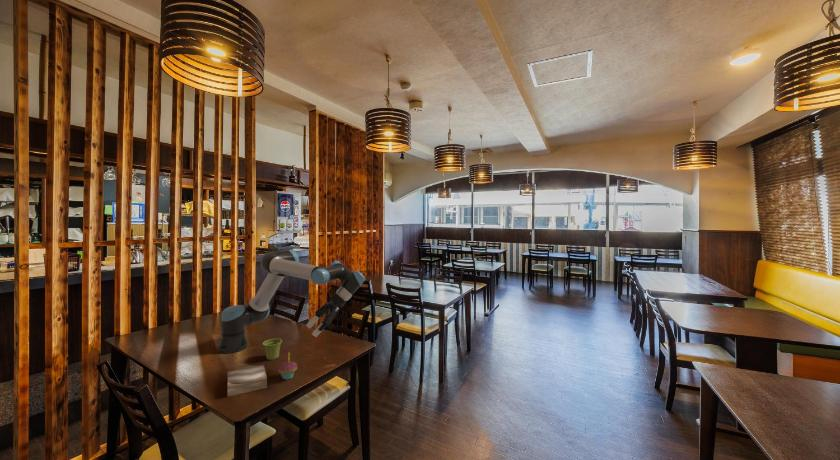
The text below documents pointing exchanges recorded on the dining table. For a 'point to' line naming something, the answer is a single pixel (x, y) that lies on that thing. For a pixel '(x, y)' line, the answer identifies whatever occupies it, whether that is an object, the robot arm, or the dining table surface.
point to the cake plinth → (246, 380)
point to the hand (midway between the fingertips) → (310, 331)
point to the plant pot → (272, 348)
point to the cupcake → (287, 368)
